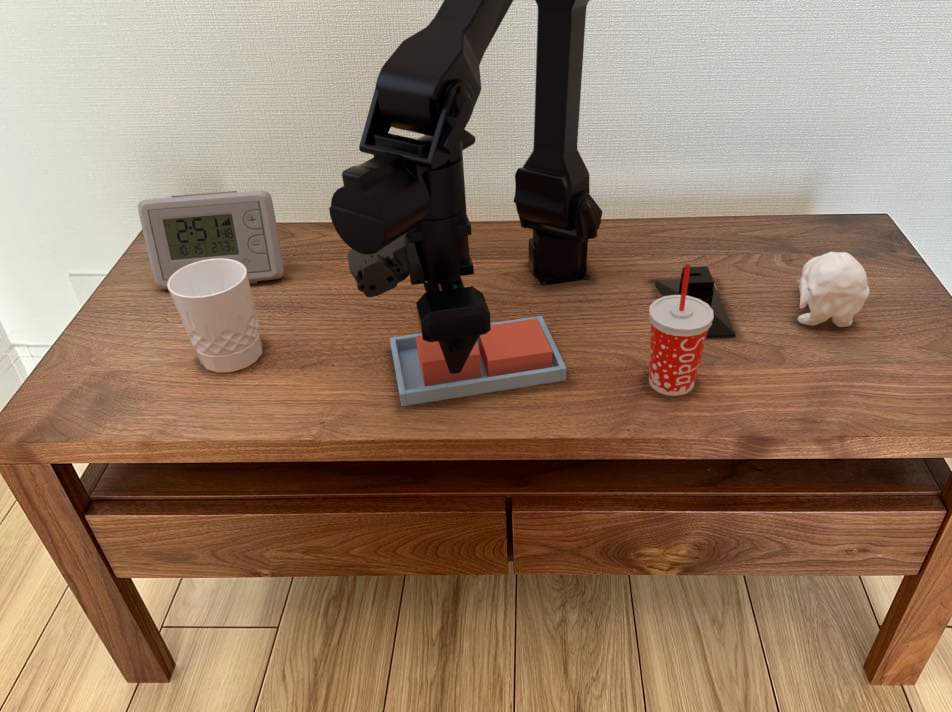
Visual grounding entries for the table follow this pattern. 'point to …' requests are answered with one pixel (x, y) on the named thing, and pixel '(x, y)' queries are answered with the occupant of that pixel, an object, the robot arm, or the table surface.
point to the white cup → (218, 313)
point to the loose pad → (444, 364)
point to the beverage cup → (677, 340)
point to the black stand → (701, 298)
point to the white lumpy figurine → (832, 289)
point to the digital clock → (212, 233)
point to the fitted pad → (515, 348)
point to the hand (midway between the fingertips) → (447, 346)
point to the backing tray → (418, 393)
